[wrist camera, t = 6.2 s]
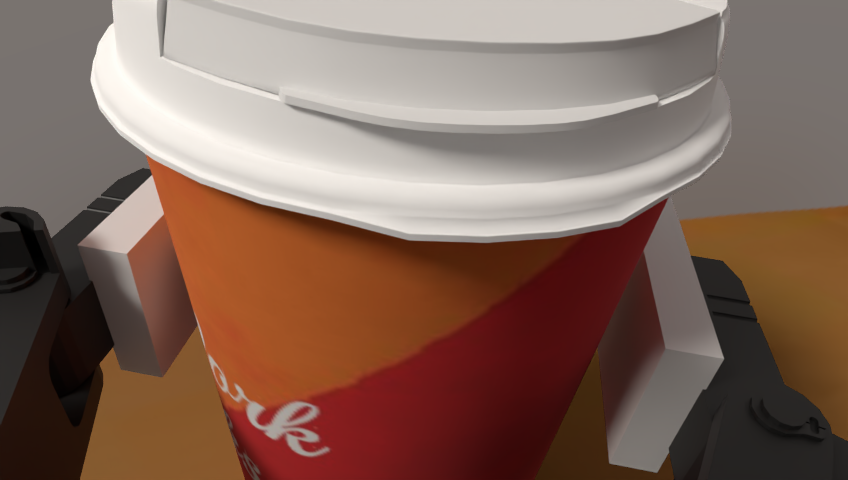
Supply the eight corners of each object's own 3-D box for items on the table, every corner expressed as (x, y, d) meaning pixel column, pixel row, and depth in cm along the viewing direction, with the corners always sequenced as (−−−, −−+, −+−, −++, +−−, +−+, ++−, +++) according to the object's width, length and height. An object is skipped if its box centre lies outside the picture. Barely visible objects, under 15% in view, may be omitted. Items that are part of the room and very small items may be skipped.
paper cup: (246, 416, 18) (156, -124, 9) (492, 401, 19) (610, -89, 10) (205, 749, 12) (-175, 58, 3) (572, 696, 13) (1016, 90, 4)
